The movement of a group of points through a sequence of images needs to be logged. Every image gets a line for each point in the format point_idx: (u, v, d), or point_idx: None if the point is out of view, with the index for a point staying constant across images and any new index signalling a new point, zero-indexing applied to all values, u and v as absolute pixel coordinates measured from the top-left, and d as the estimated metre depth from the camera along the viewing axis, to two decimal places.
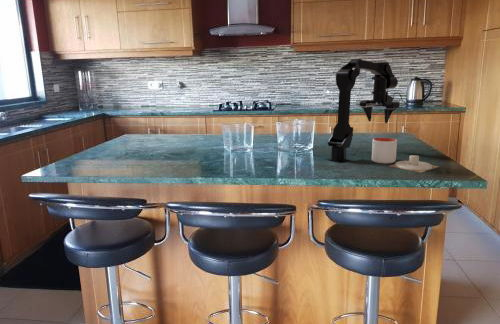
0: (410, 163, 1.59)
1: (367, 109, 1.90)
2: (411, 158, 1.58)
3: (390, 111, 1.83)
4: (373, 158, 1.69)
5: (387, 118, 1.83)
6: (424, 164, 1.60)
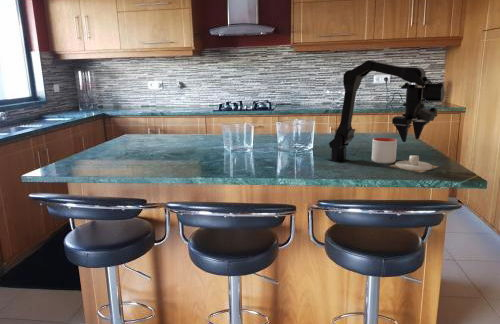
0: (410, 163, 1.59)
1: (414, 124, 1.57)
2: (411, 158, 1.58)
3: (404, 128, 1.49)
4: (373, 158, 1.69)
5: (402, 136, 1.51)
6: (424, 164, 1.60)
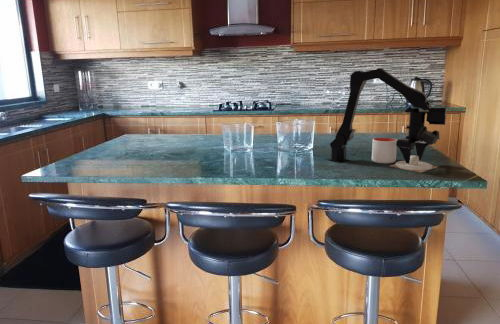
0: (410, 163, 1.59)
1: (417, 145, 1.63)
2: (411, 158, 1.58)
3: (408, 150, 1.54)
4: (373, 158, 1.69)
5: (405, 157, 1.56)
6: (424, 164, 1.60)
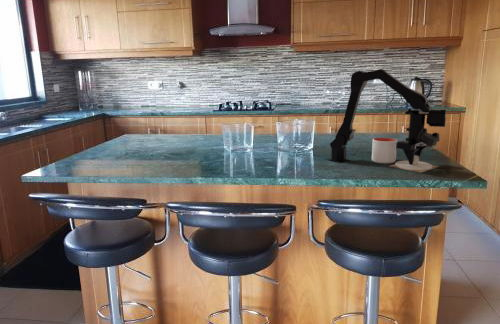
0: None
1: None
2: None
3: (411, 151, 1.56)
4: (373, 158, 1.69)
5: (409, 158, 1.58)
6: (424, 164, 1.60)
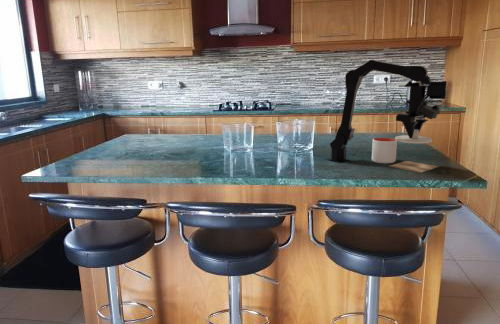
0: None
1: None
2: None
3: (411, 124, 1.54)
4: (373, 158, 1.69)
5: (408, 132, 1.56)
6: (424, 138, 1.58)
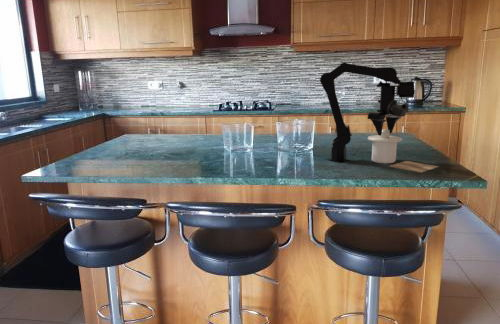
0: (381, 136, 1.68)
1: (387, 119, 1.71)
2: (382, 131, 1.67)
3: (379, 122, 1.63)
4: (373, 158, 1.69)
5: (377, 130, 1.65)
6: (395, 137, 1.68)
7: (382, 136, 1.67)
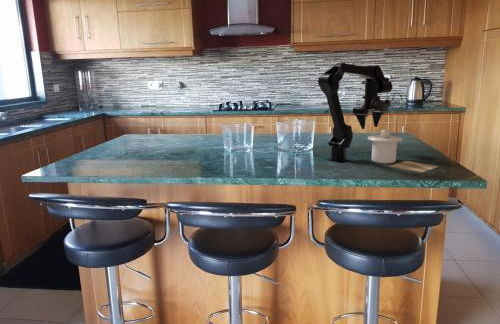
0: (381, 136, 1.68)
1: (373, 114, 1.83)
2: (382, 131, 1.67)
3: (362, 117, 1.75)
4: (373, 158, 1.70)
5: (361, 124, 1.77)
6: (395, 137, 1.68)
7: (382, 136, 1.67)
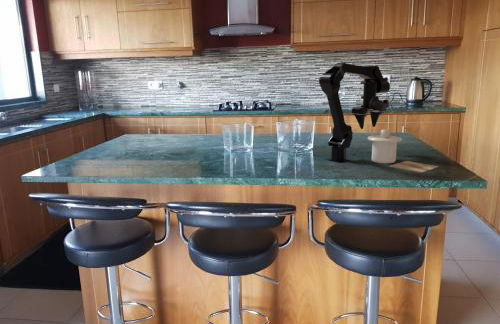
0: (381, 136, 1.68)
1: (371, 114, 1.85)
2: (382, 131, 1.67)
3: (361, 117, 1.76)
4: (373, 158, 1.70)
5: (360, 124, 1.78)
6: (395, 137, 1.68)
7: (382, 136, 1.67)
